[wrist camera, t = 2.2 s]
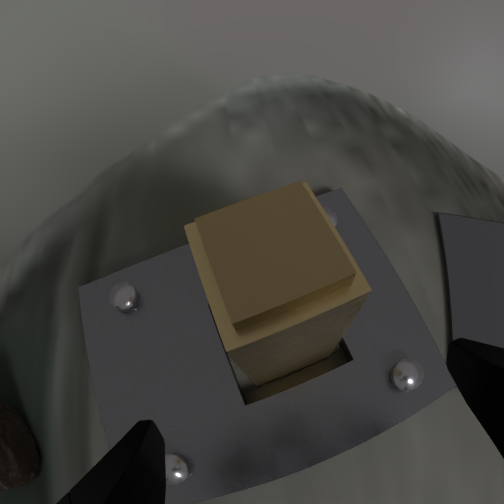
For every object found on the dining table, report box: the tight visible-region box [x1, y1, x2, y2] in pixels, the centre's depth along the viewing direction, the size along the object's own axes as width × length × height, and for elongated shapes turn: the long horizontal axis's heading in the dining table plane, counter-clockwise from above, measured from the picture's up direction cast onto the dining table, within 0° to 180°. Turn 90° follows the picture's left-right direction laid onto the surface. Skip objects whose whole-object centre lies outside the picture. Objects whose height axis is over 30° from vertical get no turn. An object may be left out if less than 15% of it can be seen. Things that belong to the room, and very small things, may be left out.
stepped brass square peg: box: [184, 181, 372, 386], centre depth 15 cm, size 5×5×12 cm
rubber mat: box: [437, 213, 504, 387], centre depth 19 cm, size 14×10×1 cm
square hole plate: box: [78, 188, 456, 504], centre depth 19 cm, size 17×22×2 cm
